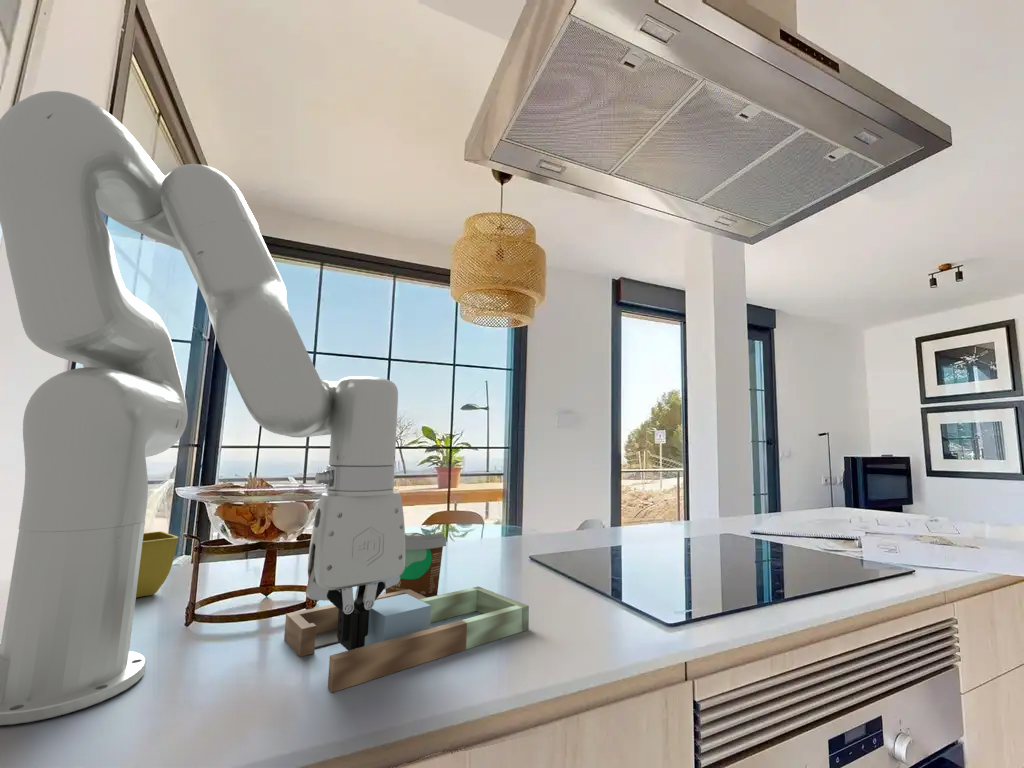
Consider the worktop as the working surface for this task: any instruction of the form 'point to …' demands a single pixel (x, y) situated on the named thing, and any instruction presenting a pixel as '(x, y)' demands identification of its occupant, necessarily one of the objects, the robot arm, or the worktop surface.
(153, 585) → the flower pot
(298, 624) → the wood and green frame
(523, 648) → the worktop surface
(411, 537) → the food container
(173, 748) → the worktop surface
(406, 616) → the block
